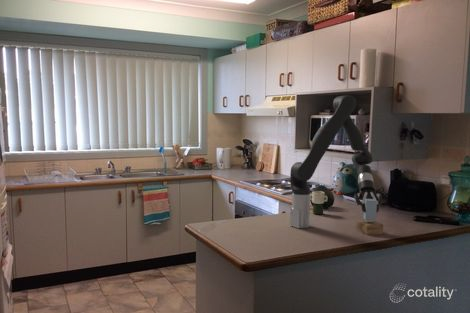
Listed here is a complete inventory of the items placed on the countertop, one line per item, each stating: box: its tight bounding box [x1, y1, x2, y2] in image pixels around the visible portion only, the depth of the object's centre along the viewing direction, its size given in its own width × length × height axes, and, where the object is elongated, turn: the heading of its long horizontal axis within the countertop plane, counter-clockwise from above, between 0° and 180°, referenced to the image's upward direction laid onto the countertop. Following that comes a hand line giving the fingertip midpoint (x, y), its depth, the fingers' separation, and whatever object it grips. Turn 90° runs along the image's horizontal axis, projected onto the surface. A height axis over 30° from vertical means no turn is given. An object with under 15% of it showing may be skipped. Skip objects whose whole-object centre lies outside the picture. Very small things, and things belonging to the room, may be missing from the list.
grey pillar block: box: [362, 199, 378, 222], centre depth 202 cm, size 5×5×10 cm
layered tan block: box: [355, 219, 384, 236], centre depth 203 cm, size 9×9×5 cm
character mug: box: [310, 191, 327, 215], centre depth 241 cm, size 11×7×13 cm, turn 60°
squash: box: [310, 184, 335, 210], centre depth 259 cm, size 14×15×15 cm
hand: (370, 211), depth 201 cm, fingers open, 5 cm apart
